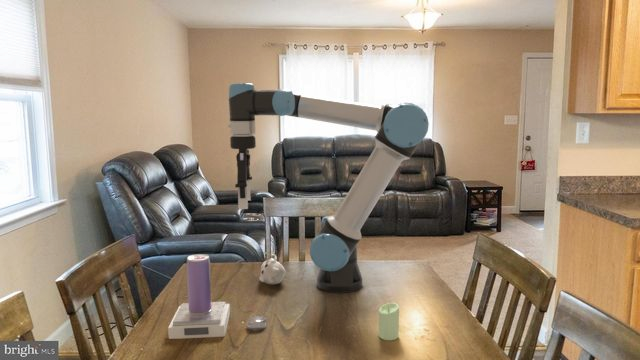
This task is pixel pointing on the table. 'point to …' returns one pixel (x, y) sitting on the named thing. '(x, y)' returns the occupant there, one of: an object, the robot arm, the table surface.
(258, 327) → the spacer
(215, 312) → the pan
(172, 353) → the table surface
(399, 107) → the robot arm
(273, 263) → the cat figurine
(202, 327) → the base
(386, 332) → the candle
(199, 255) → the beverage can
